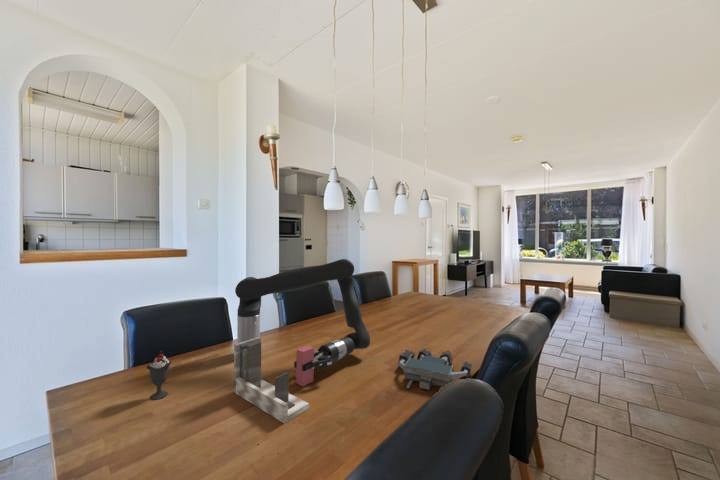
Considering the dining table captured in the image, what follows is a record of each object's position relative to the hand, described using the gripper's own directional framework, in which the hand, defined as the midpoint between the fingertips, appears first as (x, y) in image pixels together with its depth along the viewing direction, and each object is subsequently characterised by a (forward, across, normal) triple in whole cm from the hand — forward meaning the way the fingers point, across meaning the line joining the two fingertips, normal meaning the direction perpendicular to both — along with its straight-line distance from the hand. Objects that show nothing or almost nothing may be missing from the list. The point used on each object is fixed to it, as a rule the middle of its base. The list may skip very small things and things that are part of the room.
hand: (298, 366), depth 103 cm
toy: (-37, +33, +7) cm, 50 cm away
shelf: (+11, 0, +7) cm, 13 cm away
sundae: (+32, -30, +7) cm, 44 cm away
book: (-3, 0, +6) cm, 7 cm away
